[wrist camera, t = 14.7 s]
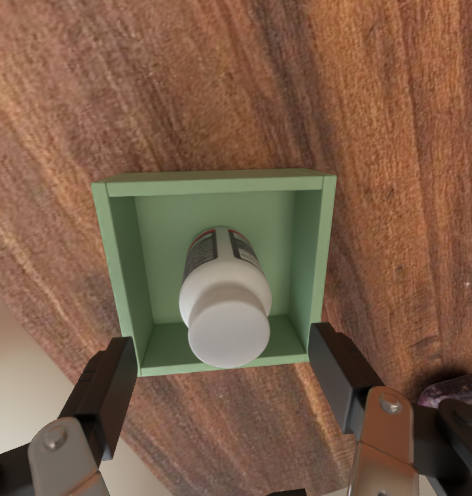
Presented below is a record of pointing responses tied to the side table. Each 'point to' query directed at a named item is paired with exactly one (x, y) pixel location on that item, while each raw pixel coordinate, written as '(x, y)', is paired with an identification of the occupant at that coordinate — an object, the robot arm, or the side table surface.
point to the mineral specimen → (447, 391)
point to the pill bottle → (225, 299)
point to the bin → (195, 222)
